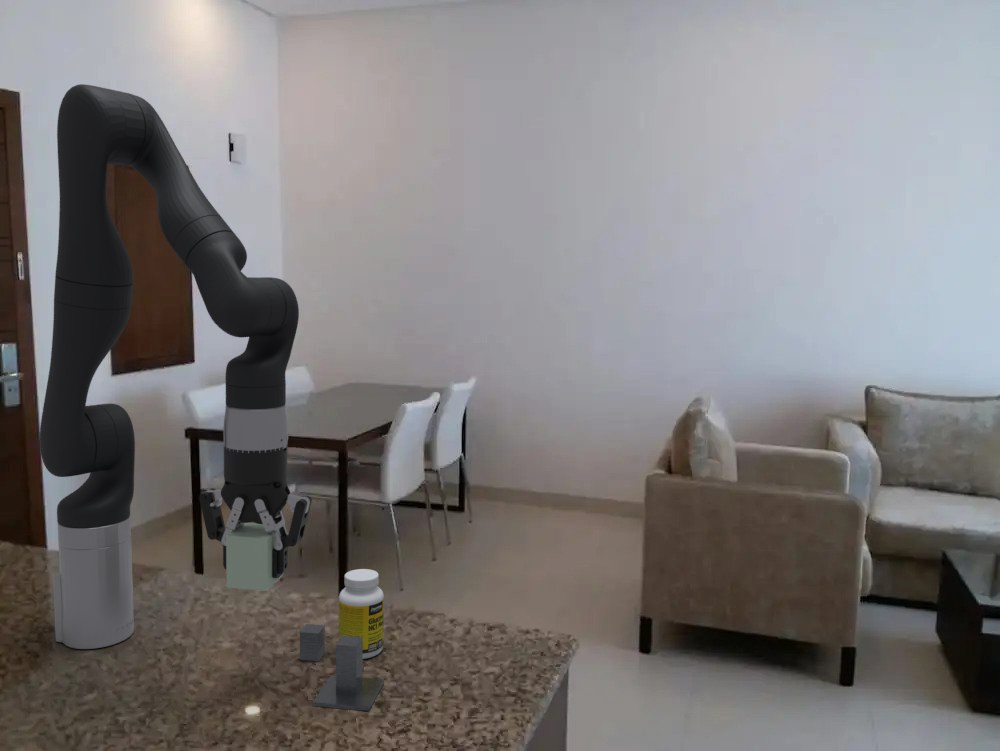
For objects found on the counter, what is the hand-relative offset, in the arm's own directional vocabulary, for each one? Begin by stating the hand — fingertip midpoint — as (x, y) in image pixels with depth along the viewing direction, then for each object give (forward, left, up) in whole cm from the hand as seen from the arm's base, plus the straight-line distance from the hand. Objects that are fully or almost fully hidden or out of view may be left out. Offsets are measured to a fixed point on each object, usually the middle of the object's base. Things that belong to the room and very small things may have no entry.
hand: (255, 573), depth 104 cm
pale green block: (0, 0, -1) cm, 1 cm away
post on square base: (+12, 0, -15) cm, 19 cm away
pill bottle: (+10, +12, -15) cm, 22 cm away
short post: (+4, +9, -15) cm, 18 cm away
